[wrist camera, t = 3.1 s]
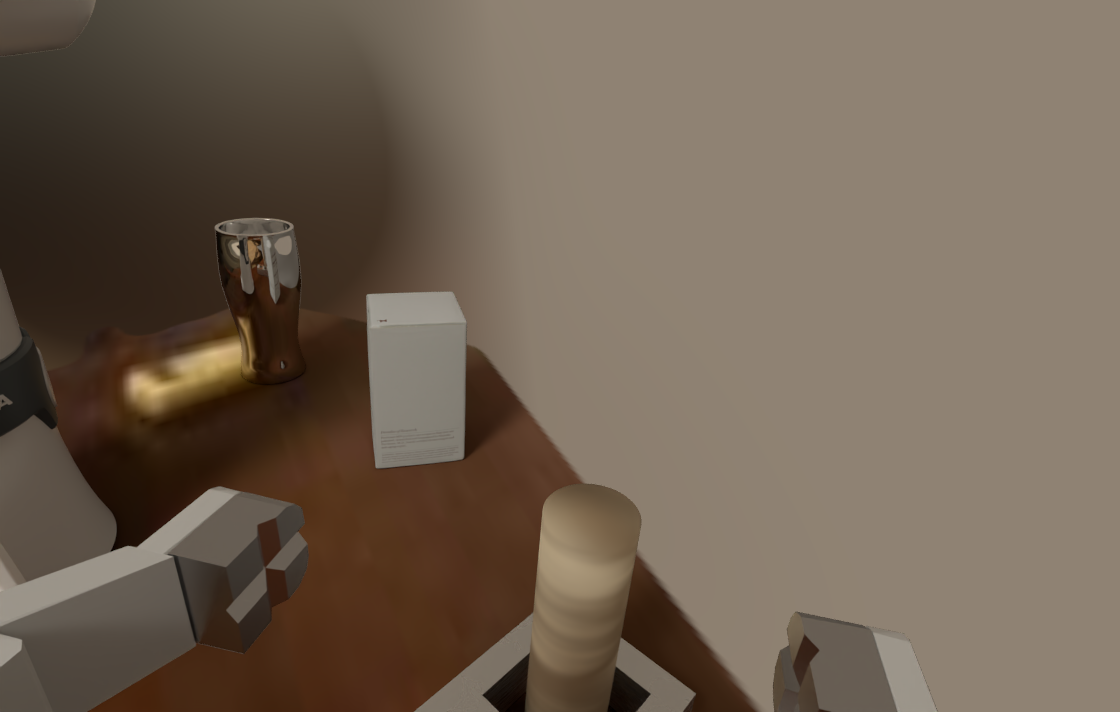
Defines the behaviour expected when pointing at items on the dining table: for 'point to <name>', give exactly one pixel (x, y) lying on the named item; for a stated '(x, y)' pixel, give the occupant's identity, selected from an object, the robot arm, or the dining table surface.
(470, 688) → the board
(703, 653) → the dining table surface
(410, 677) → the dining table surface
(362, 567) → the dining table surface
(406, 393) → the supplement box
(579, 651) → the peg
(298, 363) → the beer glass
